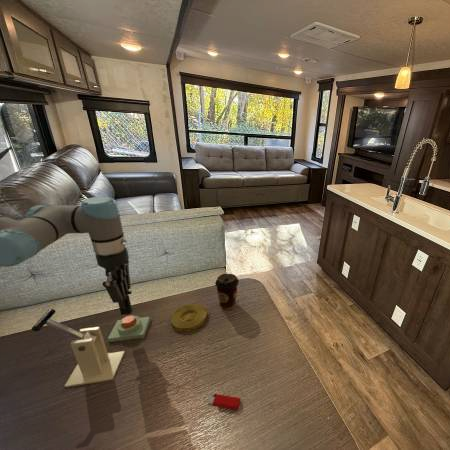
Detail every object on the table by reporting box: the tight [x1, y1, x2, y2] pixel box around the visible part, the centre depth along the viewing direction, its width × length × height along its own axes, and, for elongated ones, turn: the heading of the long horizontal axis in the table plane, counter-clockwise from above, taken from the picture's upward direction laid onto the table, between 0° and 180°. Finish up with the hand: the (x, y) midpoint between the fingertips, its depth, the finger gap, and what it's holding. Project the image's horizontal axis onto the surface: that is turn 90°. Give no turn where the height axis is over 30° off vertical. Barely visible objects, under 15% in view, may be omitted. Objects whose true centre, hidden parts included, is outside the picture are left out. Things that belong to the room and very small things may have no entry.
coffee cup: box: [214, 273, 240, 310], centre depth 98 cm, size 9×8×13 cm
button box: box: [107, 315, 151, 343], centre depth 83 cm, size 10×8×4 cm
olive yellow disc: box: [170, 303, 208, 333], centre depth 90 cm, size 12×12×2 cm
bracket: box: [64, 326, 126, 388], centre depth 68 cm, size 11×9×14 cm
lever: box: [31, 308, 97, 342], centre depth 64 cm, size 13×6×2 cm
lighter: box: [207, 393, 242, 411], centre depth 66 cm, size 3×1×8 cm
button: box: [121, 314, 135, 328], centre depth 82 cm, size 4×4×2 cm
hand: (126, 312), depth 81 cm, fingers closed
